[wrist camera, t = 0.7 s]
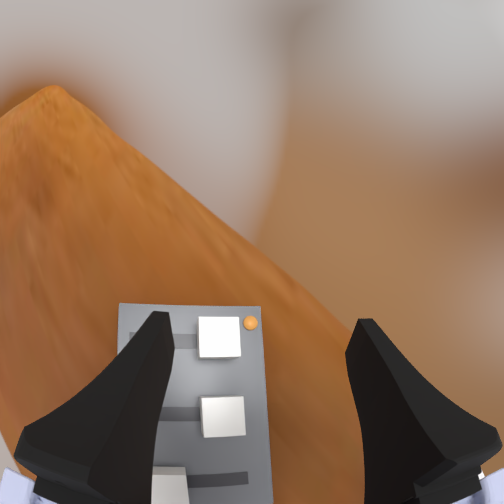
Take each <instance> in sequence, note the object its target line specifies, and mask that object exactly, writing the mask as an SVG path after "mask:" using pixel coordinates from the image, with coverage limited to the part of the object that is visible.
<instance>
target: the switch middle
mask: <svg viewBox="0 0 504 504" xmlns="http://www.w3.org/2000/svg"><path fill="white" fill-rule="evenodd" d="M199 401H200V418H201V432H202V434H203V436H204V438H208V437H228V436H242V435H246V428H245V413H244V397H243V396H239V395H229V396H199Z"/></svg>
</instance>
